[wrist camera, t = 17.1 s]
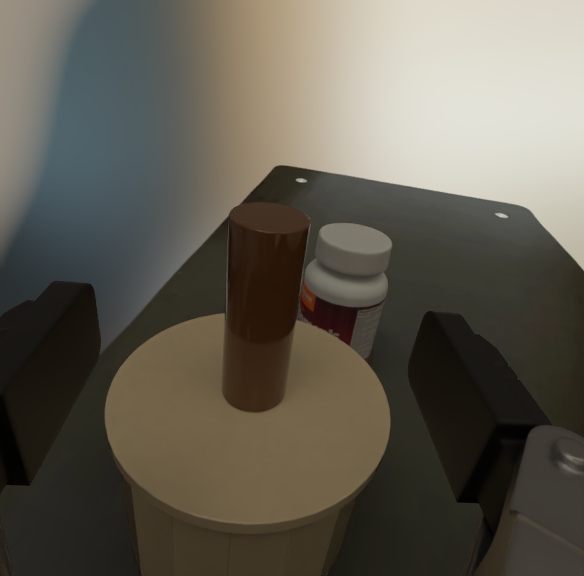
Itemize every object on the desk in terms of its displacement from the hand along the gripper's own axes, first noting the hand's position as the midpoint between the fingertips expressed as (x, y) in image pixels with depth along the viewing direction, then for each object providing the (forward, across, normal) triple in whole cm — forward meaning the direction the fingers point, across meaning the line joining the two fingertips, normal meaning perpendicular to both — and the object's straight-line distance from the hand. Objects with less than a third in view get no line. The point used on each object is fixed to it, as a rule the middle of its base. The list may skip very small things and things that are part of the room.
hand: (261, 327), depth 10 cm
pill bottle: (+18, -6, +16) cm, 25 cm away
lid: (+5, 0, +8) cm, 9 cm away
